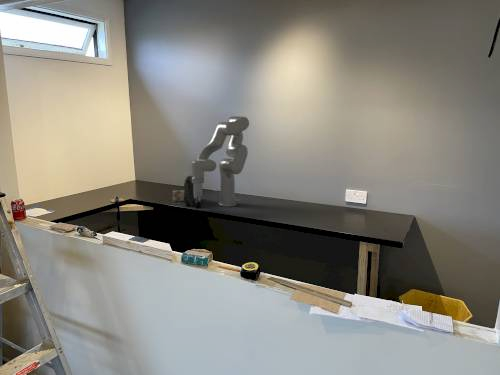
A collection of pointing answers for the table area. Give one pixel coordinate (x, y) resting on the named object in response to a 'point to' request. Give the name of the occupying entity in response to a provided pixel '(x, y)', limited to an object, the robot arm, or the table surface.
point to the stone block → (189, 192)
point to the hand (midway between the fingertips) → (198, 208)
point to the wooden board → (178, 195)
